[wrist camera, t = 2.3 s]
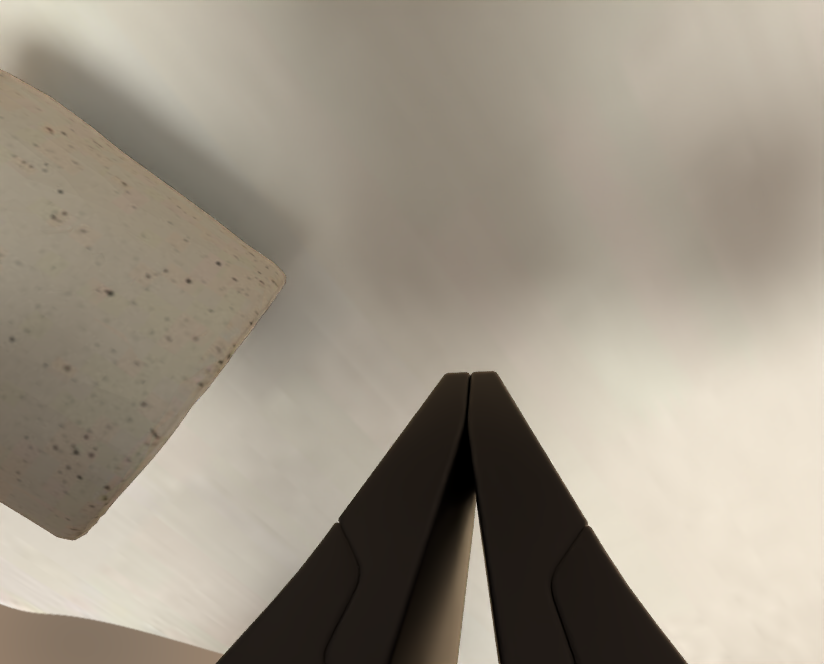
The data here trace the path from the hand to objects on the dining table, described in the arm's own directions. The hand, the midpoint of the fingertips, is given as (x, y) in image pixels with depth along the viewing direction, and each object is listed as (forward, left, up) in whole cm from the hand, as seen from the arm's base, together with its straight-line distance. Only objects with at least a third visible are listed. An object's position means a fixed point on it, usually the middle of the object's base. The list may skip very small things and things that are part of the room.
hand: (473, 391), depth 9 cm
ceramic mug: (0, +10, -6) cm, 12 cm away
